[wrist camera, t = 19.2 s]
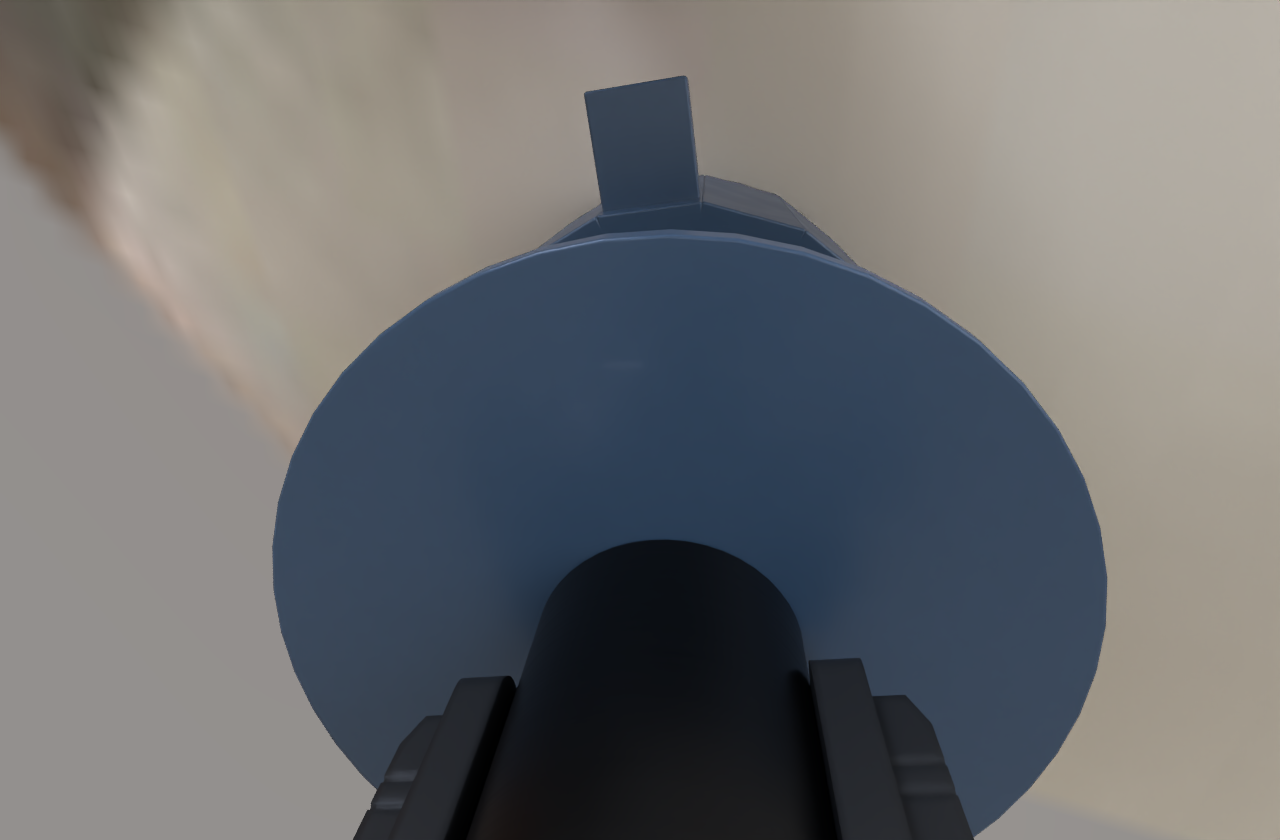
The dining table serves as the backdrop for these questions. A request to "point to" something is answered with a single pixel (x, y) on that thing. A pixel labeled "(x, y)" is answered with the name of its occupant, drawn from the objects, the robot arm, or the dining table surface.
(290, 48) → the dining table surface
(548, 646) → the lid
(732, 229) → the pot
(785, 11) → the dining table surface
